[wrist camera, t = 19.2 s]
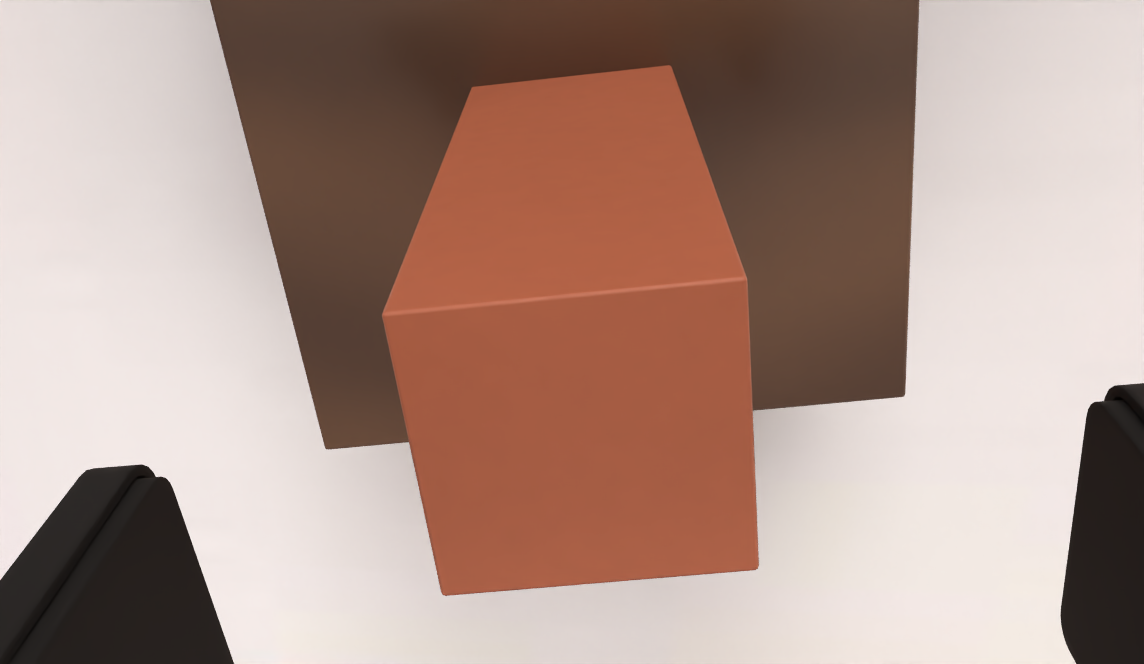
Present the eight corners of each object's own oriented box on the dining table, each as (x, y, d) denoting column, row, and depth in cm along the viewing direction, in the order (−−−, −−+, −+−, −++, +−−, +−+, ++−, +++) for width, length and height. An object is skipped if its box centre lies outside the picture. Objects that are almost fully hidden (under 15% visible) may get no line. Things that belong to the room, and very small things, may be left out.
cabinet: (254, -326, 25) (108, -388, 17) (824, -403, 24) (938, -504, 17) (385, 299, 32) (324, 450, 25) (826, 255, 32) (905, 397, 24)
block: (470, 86, 21) (380, 312, 11) (671, 64, 21) (747, 276, 11) (499, 270, 23) (441, 597, 13) (684, 251, 22) (759, 571, 13)
